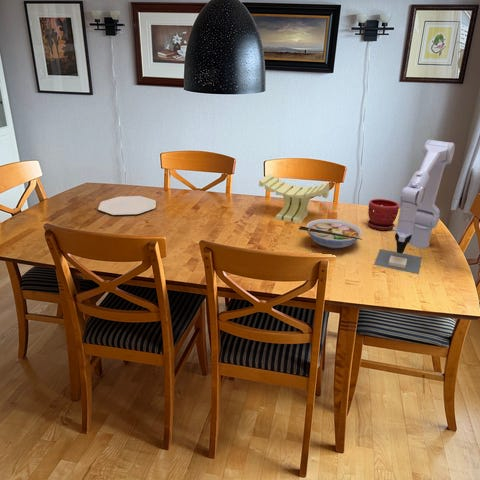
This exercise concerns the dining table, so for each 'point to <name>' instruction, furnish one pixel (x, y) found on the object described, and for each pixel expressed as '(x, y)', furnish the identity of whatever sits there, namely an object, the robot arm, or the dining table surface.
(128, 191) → the dining table surface
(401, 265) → the tile
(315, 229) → the ramen bowl
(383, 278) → the dining table surface
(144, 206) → the plate
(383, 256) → the mat
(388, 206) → the plant pot
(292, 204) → the slatted curved stool
